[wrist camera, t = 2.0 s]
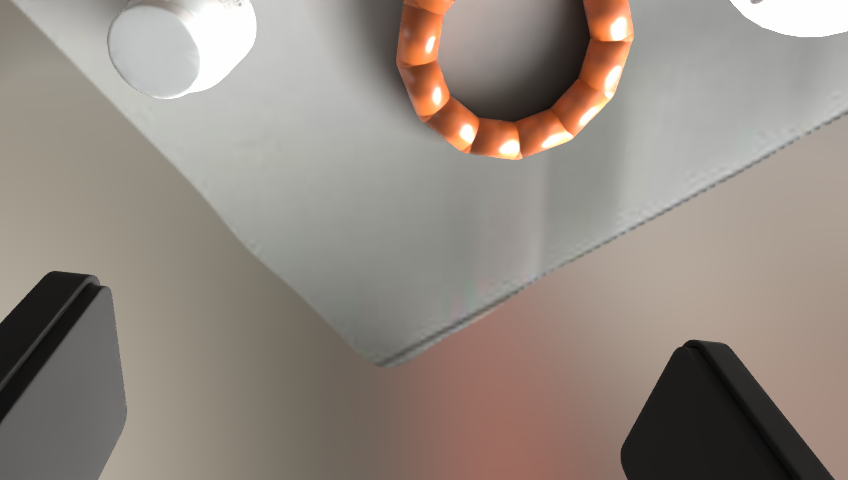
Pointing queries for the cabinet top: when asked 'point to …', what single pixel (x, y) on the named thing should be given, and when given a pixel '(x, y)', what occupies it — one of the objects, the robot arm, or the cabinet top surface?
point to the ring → (527, 135)
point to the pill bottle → (179, 43)
